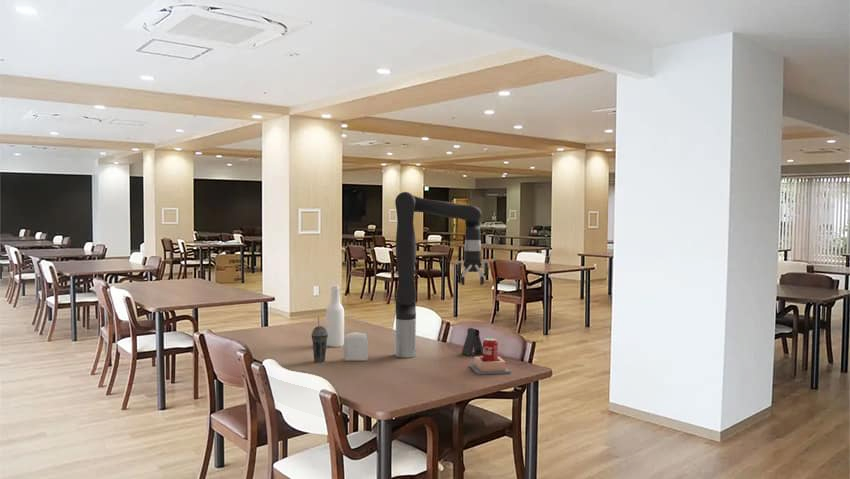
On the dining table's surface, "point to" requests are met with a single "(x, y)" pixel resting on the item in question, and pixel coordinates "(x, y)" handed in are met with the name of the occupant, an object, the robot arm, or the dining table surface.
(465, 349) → the phone stand
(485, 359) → the beverage can
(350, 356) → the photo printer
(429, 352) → the dining table surface
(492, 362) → the holder
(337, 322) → the alcohol
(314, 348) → the beverage cup
